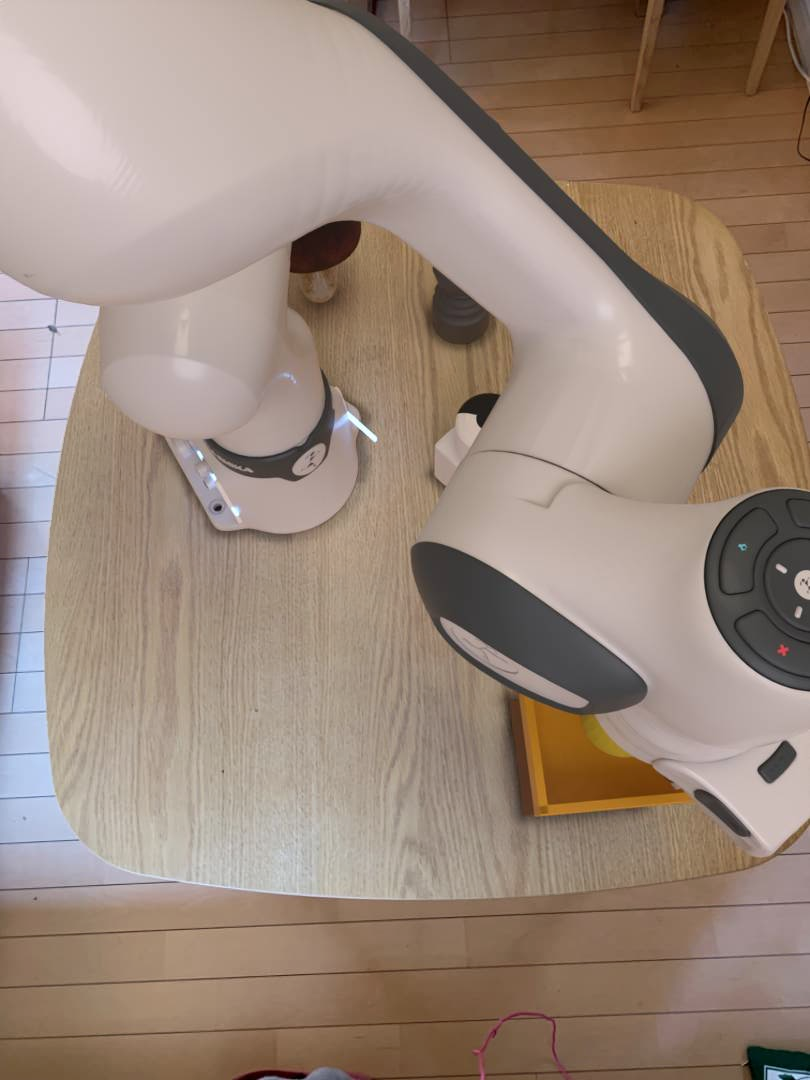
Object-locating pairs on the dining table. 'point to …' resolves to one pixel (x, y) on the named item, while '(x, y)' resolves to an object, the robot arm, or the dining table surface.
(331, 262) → the decorative mushroom
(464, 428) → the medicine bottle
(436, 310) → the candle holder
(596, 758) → the ochre tray
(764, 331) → the dining table surface
